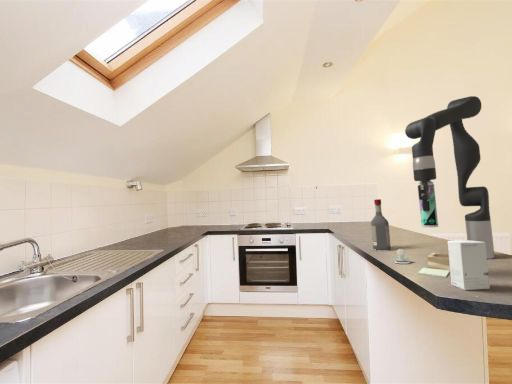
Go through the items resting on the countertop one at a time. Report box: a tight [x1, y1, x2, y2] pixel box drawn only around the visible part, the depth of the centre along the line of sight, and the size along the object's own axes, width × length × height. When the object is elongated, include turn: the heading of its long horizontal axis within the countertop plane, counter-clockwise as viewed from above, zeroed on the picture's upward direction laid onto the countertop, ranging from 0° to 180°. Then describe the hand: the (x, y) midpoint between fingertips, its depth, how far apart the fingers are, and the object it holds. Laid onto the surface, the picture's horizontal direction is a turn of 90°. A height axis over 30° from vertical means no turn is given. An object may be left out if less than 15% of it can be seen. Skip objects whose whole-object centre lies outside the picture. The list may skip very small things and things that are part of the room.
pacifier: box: [392, 248, 411, 265], centre depth 118 cm, size 7×6×6 cm
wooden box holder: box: [426, 252, 450, 271], centre depth 106 cm, size 10×10×5 cm
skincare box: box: [447, 240, 491, 291], centre depth 83 cm, size 8×6×15 cm
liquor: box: [370, 198, 392, 251], centre depth 153 cm, size 9×9×30 cm
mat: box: [417, 267, 450, 278], centre depth 100 cm, size 9×9×1 cm
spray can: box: [417, 180, 439, 228], centre depth 101 cm, size 6×6×20 cm
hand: (428, 210), depth 101 cm, fingers closed on spray can, 5 cm apart
